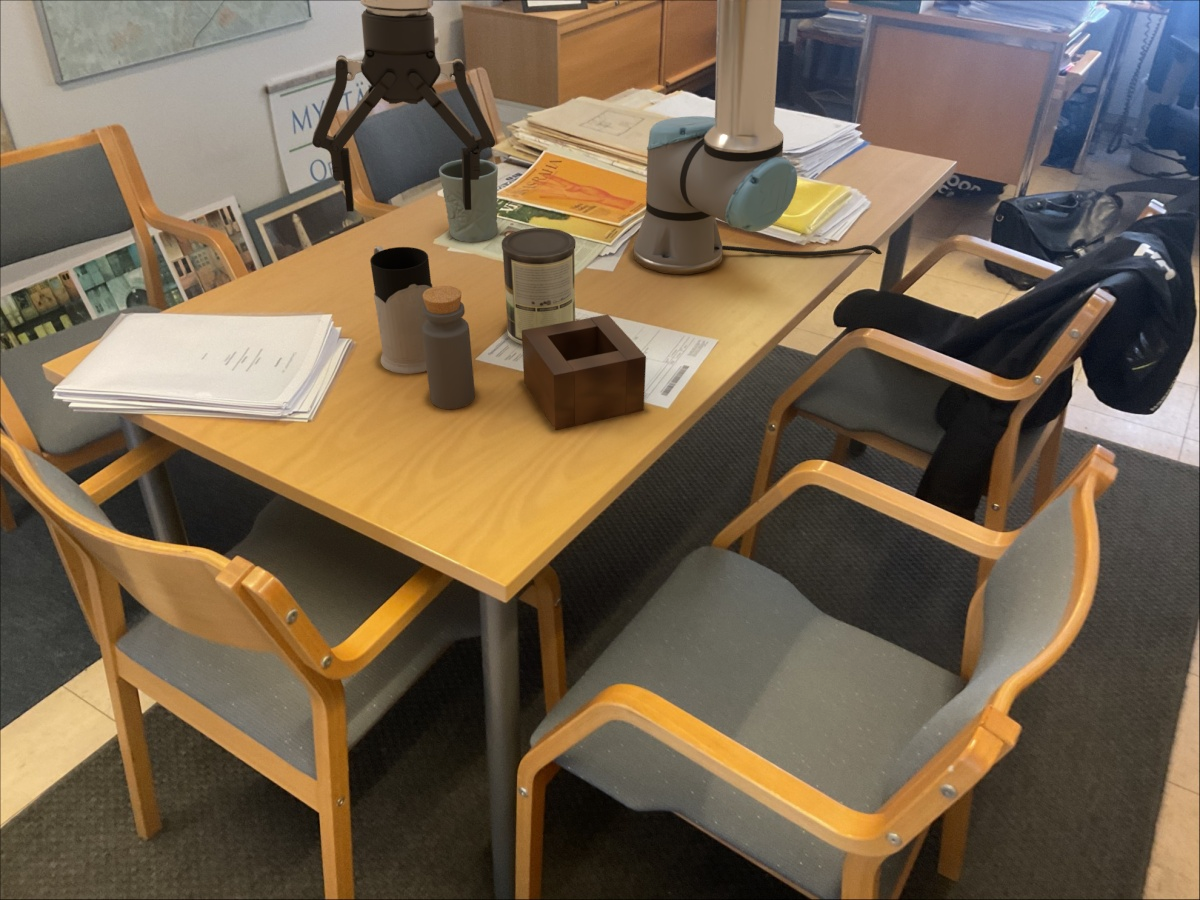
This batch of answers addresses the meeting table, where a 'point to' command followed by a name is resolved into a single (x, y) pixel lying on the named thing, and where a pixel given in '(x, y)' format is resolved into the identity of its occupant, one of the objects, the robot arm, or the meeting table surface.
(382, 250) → the glass holder
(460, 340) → the bottle
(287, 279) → the meeting table surface
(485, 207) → the grey cup
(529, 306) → the coffee can
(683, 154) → the robot arm
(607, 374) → the bottle stand
